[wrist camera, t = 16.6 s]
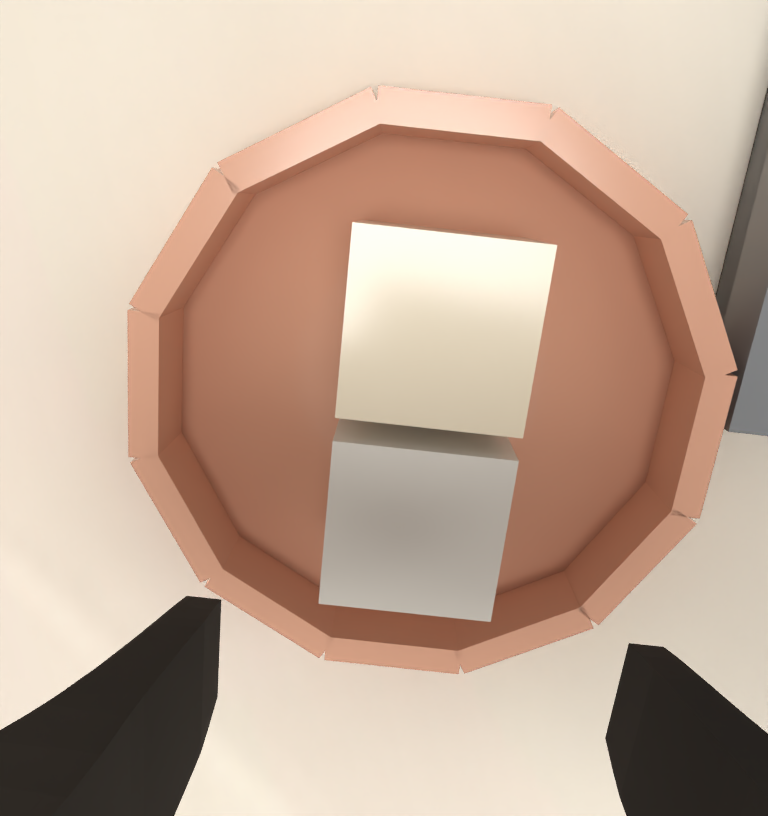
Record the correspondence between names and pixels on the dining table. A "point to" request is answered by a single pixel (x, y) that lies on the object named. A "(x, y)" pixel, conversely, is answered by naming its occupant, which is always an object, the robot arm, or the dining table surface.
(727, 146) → the dining table surface
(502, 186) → the bowl
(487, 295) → the cream matte cube
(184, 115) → the dining table surface
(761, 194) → the parts tray
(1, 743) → the robot arm
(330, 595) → the greyish beige cube
